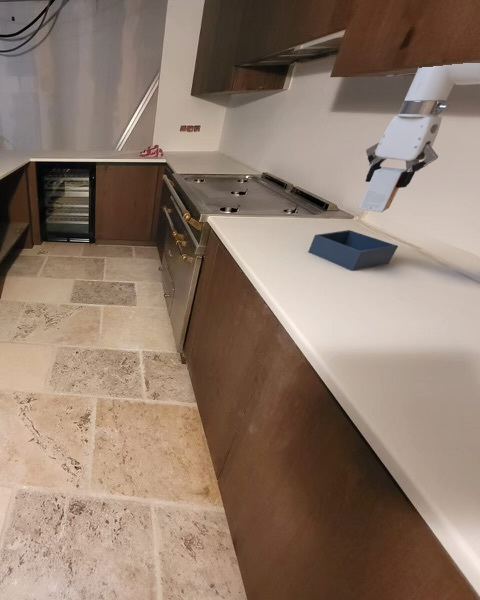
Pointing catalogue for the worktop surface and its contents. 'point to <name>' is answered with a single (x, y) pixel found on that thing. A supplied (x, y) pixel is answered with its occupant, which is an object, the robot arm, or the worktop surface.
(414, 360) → the worktop surface
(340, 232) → the tray
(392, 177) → the small box
